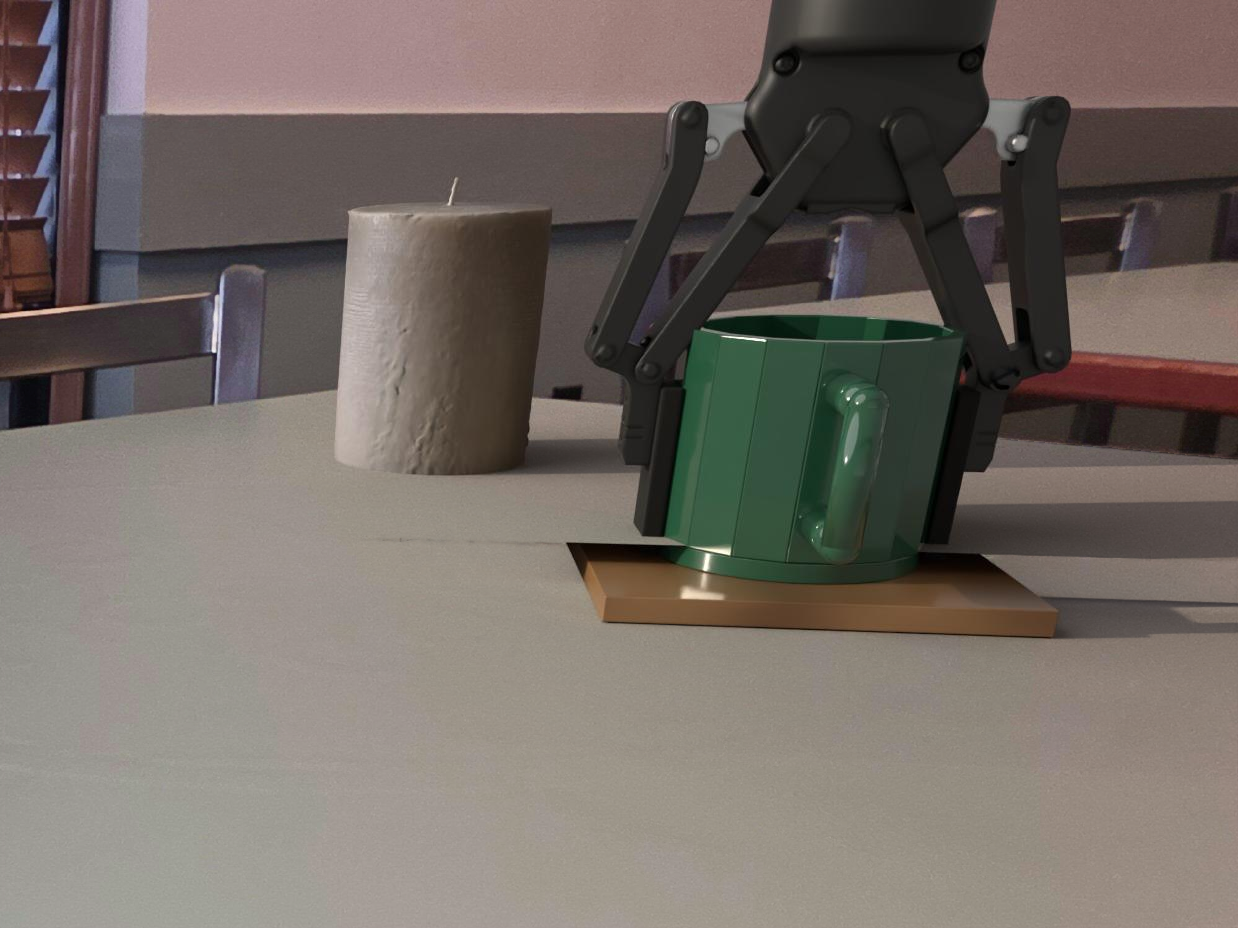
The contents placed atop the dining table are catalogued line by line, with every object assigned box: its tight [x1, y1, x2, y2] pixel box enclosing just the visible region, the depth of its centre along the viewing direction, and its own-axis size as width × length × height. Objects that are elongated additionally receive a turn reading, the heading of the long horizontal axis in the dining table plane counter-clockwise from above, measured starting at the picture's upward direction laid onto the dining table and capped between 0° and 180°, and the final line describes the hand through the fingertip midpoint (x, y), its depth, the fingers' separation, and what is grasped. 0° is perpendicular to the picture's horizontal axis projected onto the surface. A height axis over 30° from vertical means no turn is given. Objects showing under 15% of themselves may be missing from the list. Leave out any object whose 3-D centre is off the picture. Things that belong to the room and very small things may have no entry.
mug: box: [656, 312, 969, 584], centre depth 68 cm, size 14×10×9 cm
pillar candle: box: [333, 177, 553, 476], centre depth 86 cm, size 10×10×15 cm
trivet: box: [565, 541, 1060, 638], centre depth 72 cm, size 16×16×1 cm
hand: (782, 548), depth 72 cm, fingers closed on mug, 10 cm apart
